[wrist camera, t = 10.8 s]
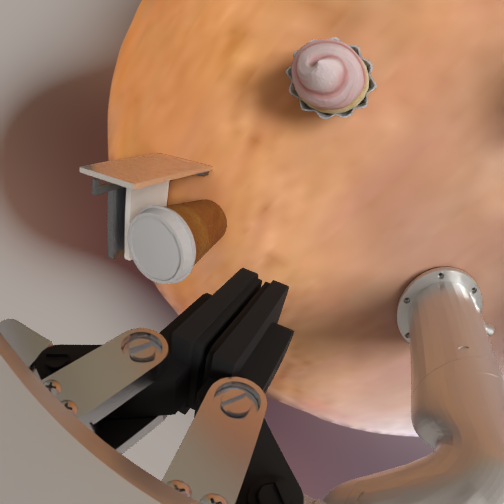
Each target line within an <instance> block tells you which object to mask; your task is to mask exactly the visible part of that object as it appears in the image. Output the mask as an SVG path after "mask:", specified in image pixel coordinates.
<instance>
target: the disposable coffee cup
mask: <svg viewBox="0 0 504 504" xmlns="http://www.w3.org/2000/svg"><path fill="white" fill-rule="evenodd" d="M226 227H227V222H226V217H225V214H224V212H223V210H222V209H221V208H220V206H219V205H217V204H216V203H215V202H213V201H210V200H200V201H194V202H188V203H182V204H176V205H170V206H164V207H163V206H154V205H153V206H148V207H146V208H144V209H142V210H141V211H140V212H139V213H138V214H137V216H136V217H135V218H134V219H133V220H132V222H131V223H130V226H129V229H128V236H127V240H128V248H129V251H130V254H131V257H132V259H133V261H134V262H135V264H136V266H137V267H138V269H139V270H140V271H141V272H142V273H143V274H144V275H145V276H146V277H147V278H149V279H150V280H152V281H154V282H156V283H160V284H168V283H177V282H180V281H182V280H184V279H185V278H186V277H187V276H188V275H189V273H190V272H191V270H192V268H193V266H194V265H195V264H196V263H197V262H198V261H199V259H201V257H203V255H204V254H205V253H206V252H207V251H209V249H210V248H211V247H212V246H213V245H214V244H215V243H216V242H217V241H218V240H219V239H221V237H222V236H223V235H224V234H225V231H226Z"/></svg>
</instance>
